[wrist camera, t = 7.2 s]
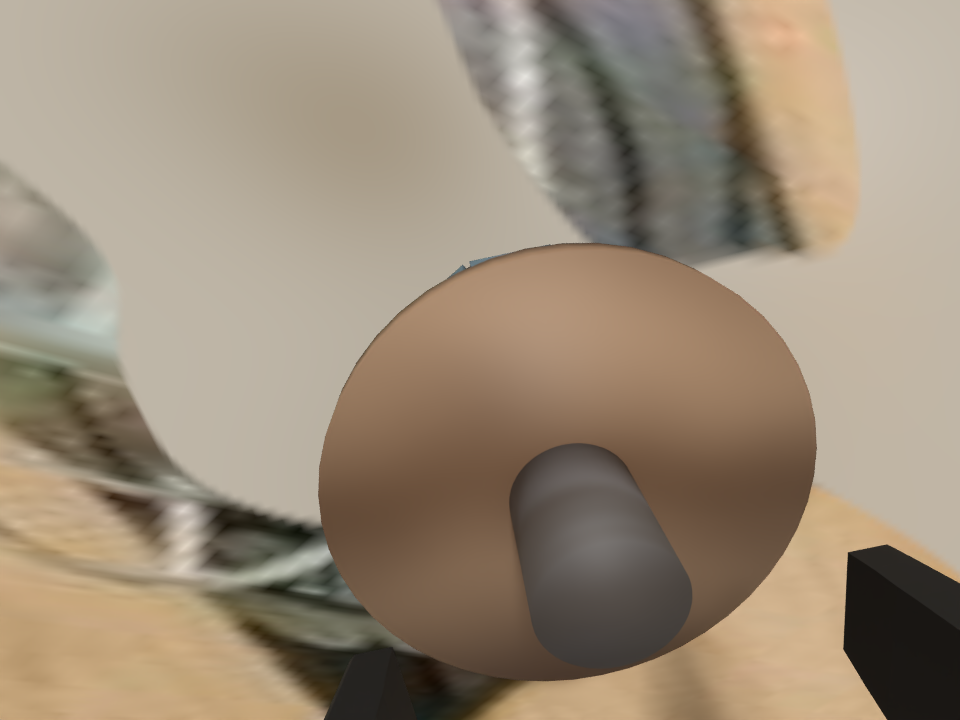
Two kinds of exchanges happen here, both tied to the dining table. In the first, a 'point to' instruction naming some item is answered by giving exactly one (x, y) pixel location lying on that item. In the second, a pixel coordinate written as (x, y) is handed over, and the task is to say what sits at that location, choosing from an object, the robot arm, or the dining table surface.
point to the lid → (566, 462)
